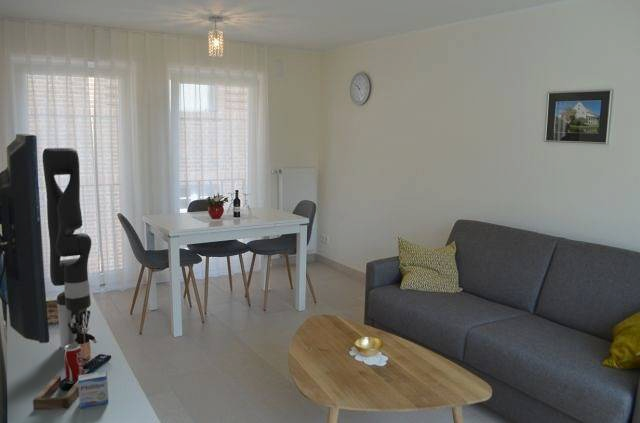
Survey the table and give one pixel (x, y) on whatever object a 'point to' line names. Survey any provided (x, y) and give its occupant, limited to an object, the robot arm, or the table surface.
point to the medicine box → (93, 389)
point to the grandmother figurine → (86, 345)
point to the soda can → (73, 361)
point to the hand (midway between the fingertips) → (81, 343)
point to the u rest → (55, 403)
